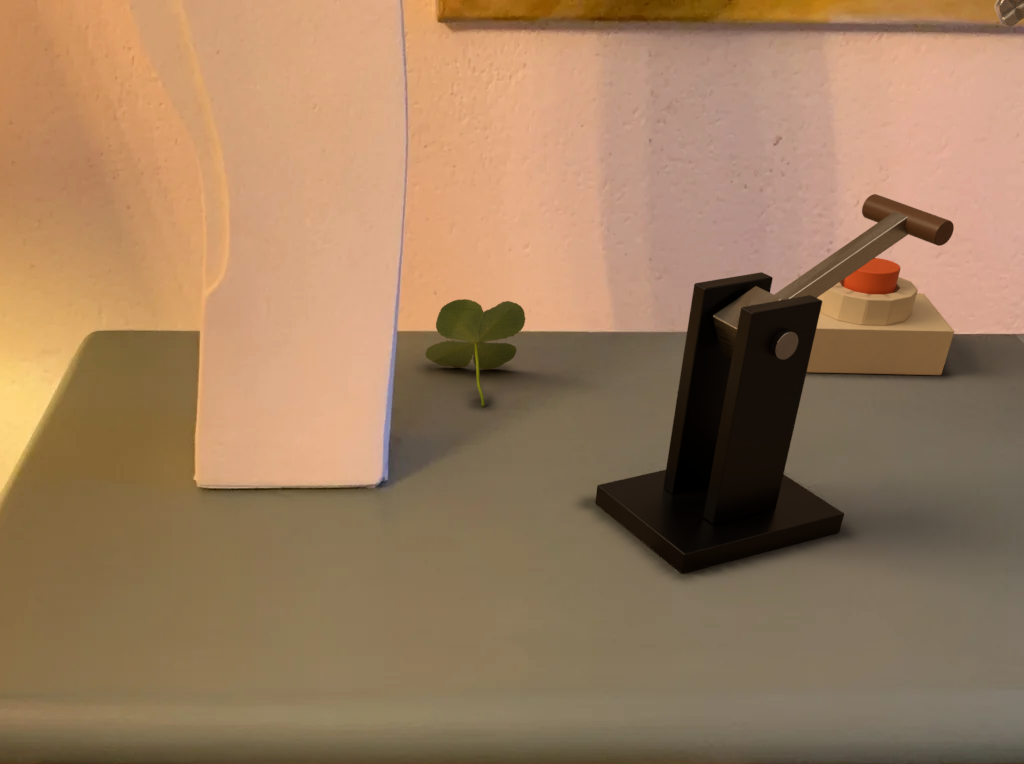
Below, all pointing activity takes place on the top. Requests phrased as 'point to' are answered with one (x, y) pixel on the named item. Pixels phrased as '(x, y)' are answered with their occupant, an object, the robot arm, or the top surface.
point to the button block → (879, 333)
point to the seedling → (476, 335)
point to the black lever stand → (730, 439)
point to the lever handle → (842, 259)
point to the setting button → (874, 277)
